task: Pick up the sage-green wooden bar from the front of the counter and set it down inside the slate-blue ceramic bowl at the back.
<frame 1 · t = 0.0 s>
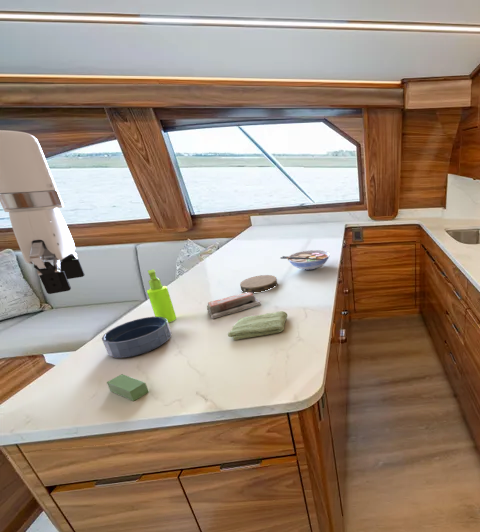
hand: (67, 284, 62), 32 cm above the counter, tool pointing down, fingers open, 9 cm apart
green bar: (129, 391, 77), on the counter
bowl: (141, 344, 98), on the counter
brown round disc: (259, 287, 143), on the counter
soap dispenser: (167, 320, 114), on the counter
washcloth: (260, 328, 106), on the counter
ramen bowl: (310, 268, 167), on the counter
packaged product: (234, 308, 122), on the counter
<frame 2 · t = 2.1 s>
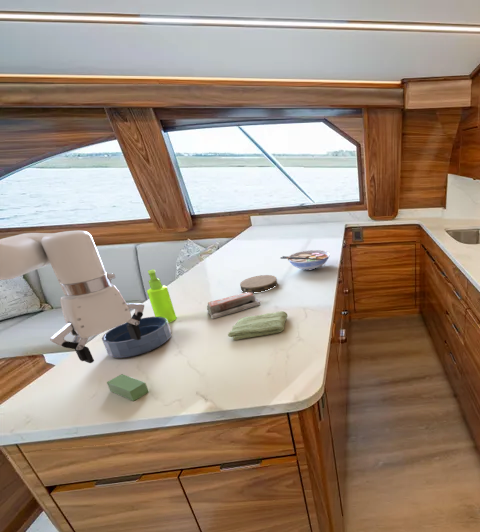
hand: (114, 349, 73), 13 cm above the counter, tool pointing down, fingers open, 9 cm apart
nothing on the counter moved.
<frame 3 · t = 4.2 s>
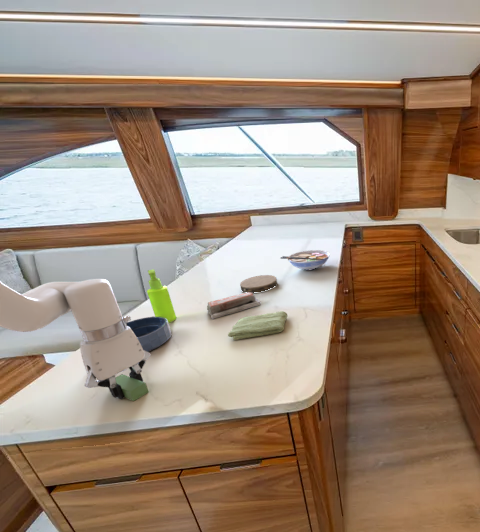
hand: (129, 391, 77), 0 cm above the counter, tool pointing down, fingers closed on green bar, 3 cm apart
green bar: (129, 391, 77), on the counter, touching gripper
everything else where it was.
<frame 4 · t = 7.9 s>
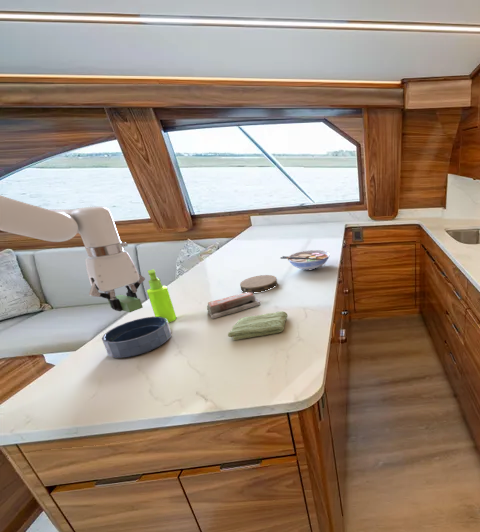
hand: (126, 306, 92), 15 cm above the counter, tool pointing down, fingers closed on green bar, 3 cm apart
green bar: (126, 307, 92), point 14 cm above the counter, touching gripper
everything else where it was.
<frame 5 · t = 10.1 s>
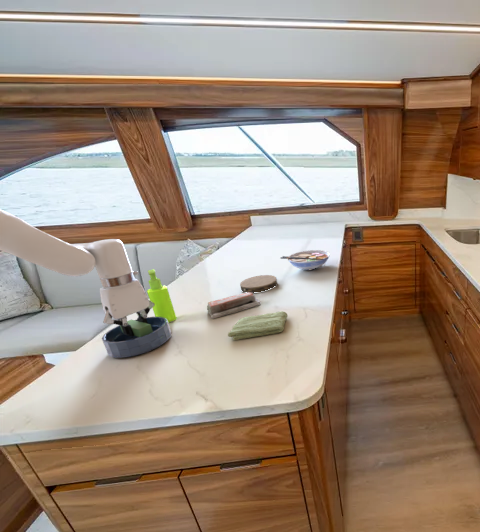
hand: (137, 331, 97), 5 cm above the counter, tool pointing down, fingers closed on green bar, 3 cm apart
green bar: (137, 332, 97), point 5 cm above the counter, touching gripper
everything else where it was.
when the fingers open (1 cm above the counter, at t = 11.6 s): green bar stays where it is, resting on bowl.
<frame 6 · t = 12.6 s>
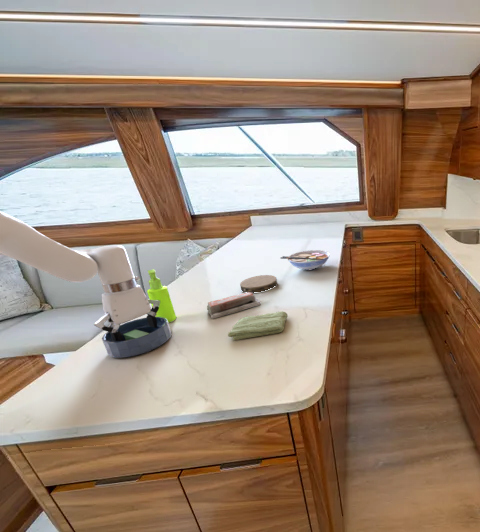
hand: (137, 334, 97), 4 cm above the counter, tool pointing down, fingers open, 9 cm apart
green bar: (141, 342, 98), point 1 cm above the counter, touching bowl
everything else where it was.
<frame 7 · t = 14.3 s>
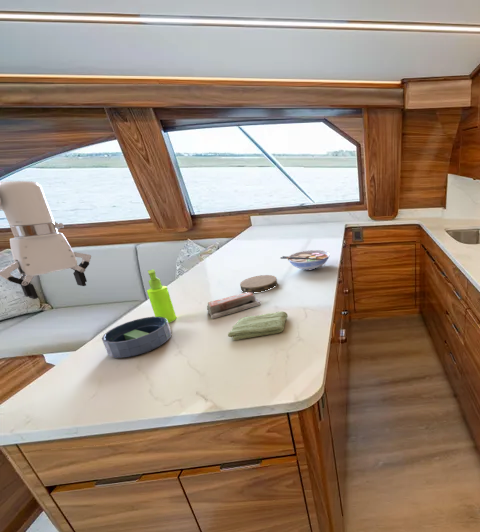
hand: (59, 291, 82), 23 cm above the counter, tool pointing down, fingers open, 9 cm apart
nothing on the counter moved.
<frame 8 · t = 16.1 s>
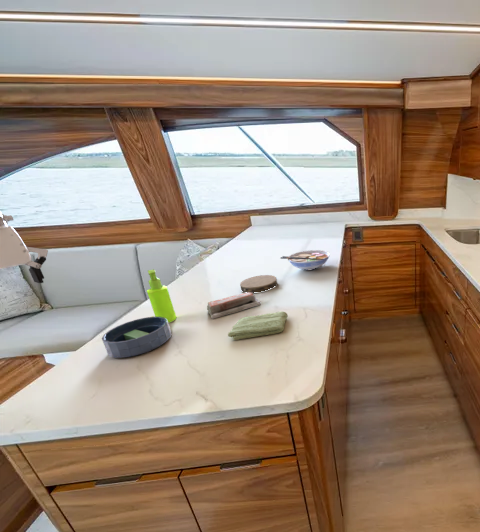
hand: (12, 289, 77), 26 cm above the counter, tool pointing down, fingers open, 9 cm apart
nothing on the counter moved.
at the end: green bar inside the target area in the bowl (0.1 cm from its centre), point 0.8 cm above the bowl's base; the gripper is holding nothing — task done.
